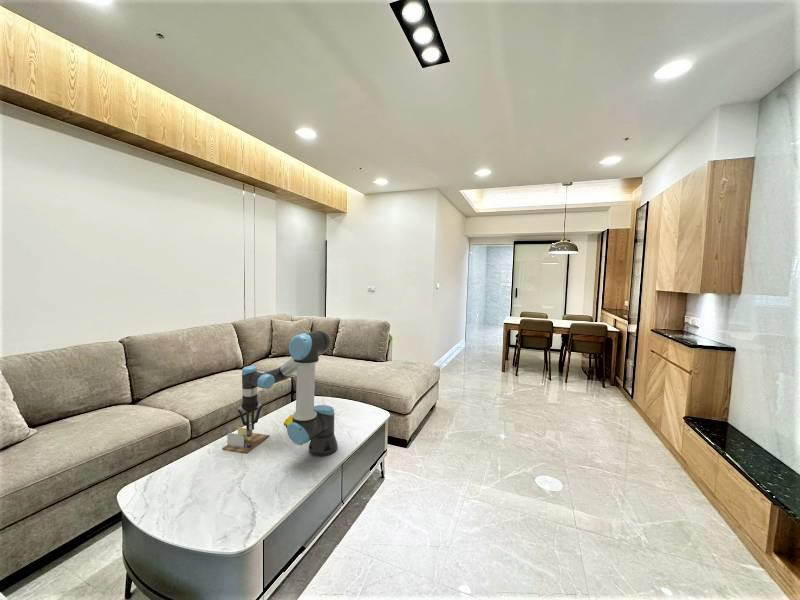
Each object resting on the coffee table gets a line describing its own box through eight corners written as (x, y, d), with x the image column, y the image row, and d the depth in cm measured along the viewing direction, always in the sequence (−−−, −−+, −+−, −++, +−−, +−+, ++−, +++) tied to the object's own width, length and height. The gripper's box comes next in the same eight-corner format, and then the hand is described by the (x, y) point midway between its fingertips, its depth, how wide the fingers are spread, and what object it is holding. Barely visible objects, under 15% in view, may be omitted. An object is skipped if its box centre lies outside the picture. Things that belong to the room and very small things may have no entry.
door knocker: (314, 424, 205) (314, 418, 205) (289, 431, 196) (289, 424, 195) (304, 415, 218) (304, 409, 218) (280, 421, 209) (280, 415, 208)
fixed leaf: (252, 445, 176) (252, 430, 175) (247, 449, 172) (247, 433, 171) (233, 442, 178) (232, 427, 178) (227, 446, 174) (227, 430, 174)
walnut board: (269, 436, 188) (269, 435, 188) (246, 453, 169) (246, 451, 169) (246, 433, 191) (246, 432, 191) (222, 450, 173) (222, 448, 173)
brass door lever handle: (255, 443, 177) (255, 431, 176) (248, 447, 173) (248, 434, 173) (239, 438, 182) (239, 426, 182) (233, 442, 178) (232, 430, 178)
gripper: (261, 390, 187) (261, 430, 188) (236, 394, 180) (236, 435, 182) (263, 394, 180) (263, 436, 182) (237, 398, 174) (238, 441, 175)
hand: (250, 435), depth 182 cm, fingers closed
